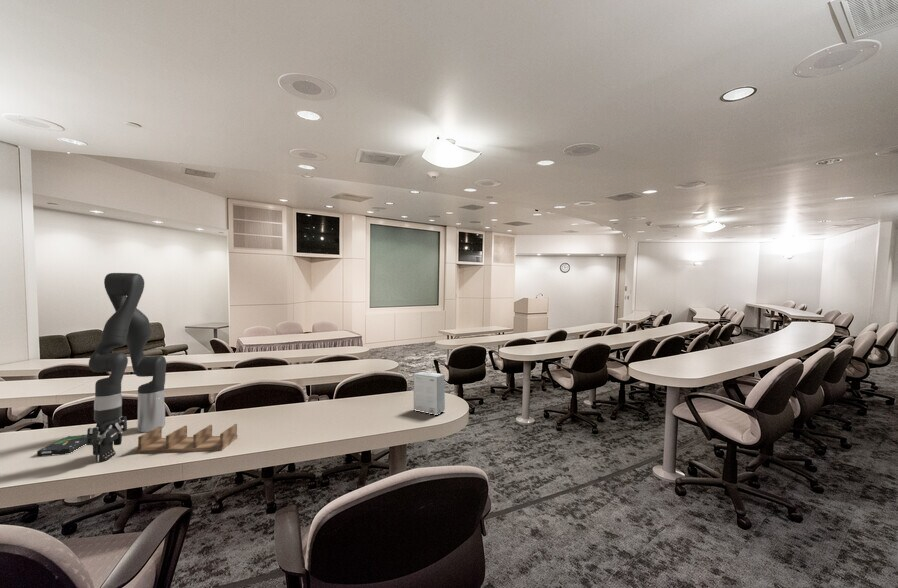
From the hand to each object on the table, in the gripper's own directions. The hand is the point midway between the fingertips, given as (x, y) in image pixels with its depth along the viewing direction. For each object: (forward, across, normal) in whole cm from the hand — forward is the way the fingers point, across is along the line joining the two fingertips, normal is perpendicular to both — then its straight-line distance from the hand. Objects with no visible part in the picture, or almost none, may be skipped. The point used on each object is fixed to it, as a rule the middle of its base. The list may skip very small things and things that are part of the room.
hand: (107, 449), depth 131 cm
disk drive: (+4, -12, -24) cm, 27 cm away
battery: (+3, 0, 0) cm, 3 cm away
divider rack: (+3, -9, +24) cm, 25 cm away
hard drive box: (+3, -42, +122) cm, 129 cm away
